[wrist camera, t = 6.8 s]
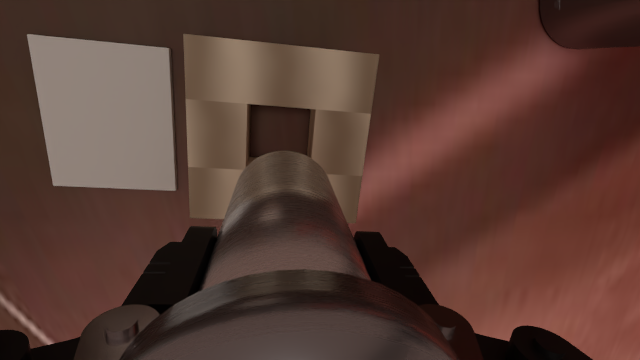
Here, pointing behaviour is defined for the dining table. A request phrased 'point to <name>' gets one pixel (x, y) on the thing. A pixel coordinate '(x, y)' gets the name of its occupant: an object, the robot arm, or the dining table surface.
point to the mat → (106, 112)
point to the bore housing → (273, 90)
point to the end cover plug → (289, 284)
